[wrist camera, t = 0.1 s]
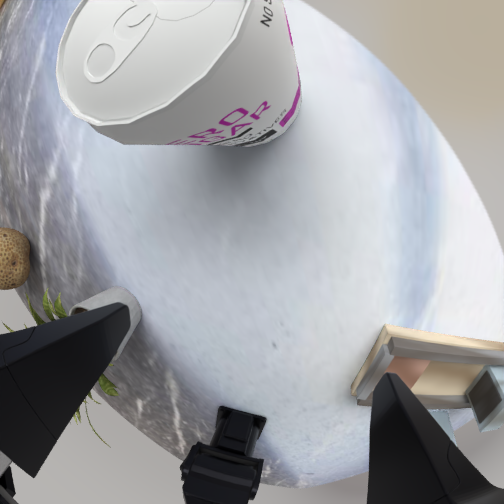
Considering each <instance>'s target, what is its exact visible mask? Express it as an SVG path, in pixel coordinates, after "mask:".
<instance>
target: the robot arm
mask: <svg viewBox="0 0 504 504" xmlns="http://www.w3.org/2000/svg"><path fill="white" fill-rule="evenodd" d="M130 326H131V319H130V310H129V306H128V305H126V304H124V303H121V302H116V303H112V304H109V305H105V306H102V307H99V308H95V309H92V310H89V311H85V312H82V313H78V314H75V315H72V316H68V317H65V318H61V319H58V320H54V321H51V322H48V323H44V324H41V325H37V326H36V327H35V326H34V327H30V328H27V329H23V330H19V331H15V332H10V333H6V334H1V335H0V504H18V503H17V502H16V501H15V500H14V499H13V496H14V495H15V494H16V493H15V488H14V484H13V478H12V472H11V467H10V466H9V465H10V464H11V463H12V461H13V462H14V463H15V464H16V465H17V466H19V467H20V468H21V469H22V470H24V471H25V472H26V473H27V474H29V475H30V476H31V477H33V478H35V476H36V475H37V473H38V471H39V470H40V468H41V466H42V465H43V463H44V461H45V460H46V458H47V456H48V455H49V453H50V452H51V450H52V448H53V446H54V445H55V444H56V442H57V440H58V439H59V437H60V435H61V434H62V432H63V431H64V429H65V427H66V426H67V425H68V423H69V422H70V420H71V418H72V417H73V415H74V414H75V412H76V411H77V409H78V408H79V406H80V405H81V404H82V402H83V401H84V399H85V398H86V396H87V395H88V393H89V392H90V390H91V389H92V388H93V386H94V385H95V383H96V382H97V380H98V379H99V378H100V376H101V375H102V373H103V372H104V371H105V369H106V368H107V366H108V365H109V363H110V362H111V361H112V359H113V357H114V356H115V354H116V352H117V350H118V349H119V347H120V345H121V343H122V342H123V340H124V338H125V336H126V335H127V333H128V331H129V329H130ZM266 420H267V419H266V418H265V417H262V416H258V415H254V414H250V413H246V412H242V411H238V410H235V409H231V408H228V407H224V406H220V407H219V409H218V415H217V422H216V430H215V433H214V435H213V438H212V440H211V443H210V445H205V444H202V443H201V442H197V444H196V445H193V446H192V448H191V450H190V452H189V454H188V456H187V457H186V459H185V460H184V461H183V463H182V464H181V466H180V470H181V472H182V477H181V480H182V481H184V484H183V487H182V488H183V497H184V501H185V504H248V500H253V499H254V498H255V495H256V493H257V490H258V487H259V483H260V478H261V473H262V467H263V462H264V459H257V458H252V456H253V452H254V448H255V445H256V441H257V440H258V439H259V437H260V434H261V432H262V430H263V428H264V425H265V423H266ZM367 504H504V489H502V488H498V487H496V486H493V485H492V484H491V483H489V481H488V480H487V479H486V478H485V477H484V476H483V475H482V474H481V473H480V472H479V471H478V470H477V469H476V468H475V467H474V466H473V465H472V464H471V462H470V461H469V460H468V459H467V458H466V457H465V456H464V455H463V453H462V452H461V451H460V450H459V449H458V447H457V446H456V445H455V444H454V442H453V441H452V440H450V437H449V436H448V435H447V434H446V432H445V431H444V430H443V429H442V427H441V426H440V425H439V424H438V422H437V421H436V420H435V419H434V418H433V416H432V415H431V414H430V413H429V411H428V410H427V409H426V408H425V407H424V405H423V404H422V403H421V402H420V401H419V399H418V398H417V397H416V396H415V395H414V393H413V392H412V391H411V390H410V389H409V387H408V386H407V385H406V384H405V383H404V382H403V380H402V379H401V378H400V377H399V376H398V375H397V374H396V373H391V372H386V373H384V374H383V376H382V377H381V379H380V380H379V382H378V383H377V385H376V386H375V388H374V390H373V397H372V410H371V421H370V451H369V480H368V494H367Z"/></svg>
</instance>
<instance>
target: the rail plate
mask: <svg viewBox="0 0 504 504" xmlns="http://www.w3.org/2000/svg"><path fill="white" fill-rule="evenodd" d="M386 372H391V373H396V374H397V375H398V376H399V377H400V378H401V379H402V380H403V382H404V383H405V384H406V385H407V386H408V387H409V389H410V390H411V391H412V392H413V393H414V395H415V396H416V397H417V398H418V399H419V401H420V402H421V403H422V404H423V405H424V407H425V408H426V409H460V408H472V410H473V413H474V416H475V419H476V421H477V424H478V427H479V430H480V432H485V431H490V430H495V429H499V428H500V427H501V426H502V425H503V424H504V343H502V342H494V341H486V340H479V339H472V338H465V337H458V336H451V335H445V334H439V333H433V332H427V331H421V330H415V329H410V328H404V327H399V326H394V325H388V324H385V325H384V327H383V329H382V331H381V333H380V335H379V337H378V339H377V341H376V343H375V345H374V347H373V348H372V350H371V352H370V354H369V356H368V358H367V359H366V361H365V363H364V365H363V366H362V368H361V370H360V372H359V373H358V375H357V377H356V378H355V380H354V382H353V383H352V385H351V395H352V396H357V405H362V406H372V397H373V390H374V388H375V386H376V385H377V383H378V382H379V380H380V379H381V377H382V376H383V374H384V373H386Z"/></svg>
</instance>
